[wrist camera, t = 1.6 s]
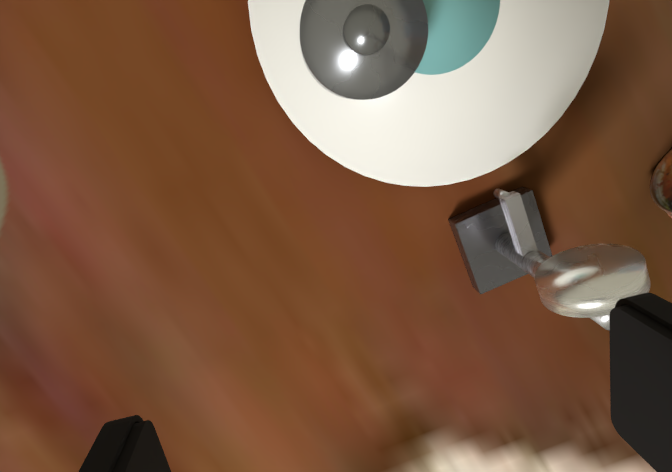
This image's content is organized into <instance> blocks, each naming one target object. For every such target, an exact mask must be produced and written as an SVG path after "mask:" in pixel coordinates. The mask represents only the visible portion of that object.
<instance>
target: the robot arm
mask: <svg viewBox="0 0 672 472" xmlns="http://www.w3.org/2000/svg"><path fill="white" fill-rule="evenodd" d="M610 392H611V420H612V423H613V425H614V427H615V429H616V431H617V432H618V434H619V435H620V436H621V437H622V438H623V439H624V440H625V441H626V442H627V443H628V444H629V445H630V446H631V447H632V448H633V449H634V450H635V451H636V452H637V453H638V454H639V455H640V456H641V457H642V458H643V459H644V460H645V461H647V462H648V463H649V464H650V465H651V466H652V467H653V468H654V469H655V470H656V471H657V472H672V303H670V302H668V301H666V300H664V299H662V298H660V297H658V296H656V295H655V294H652V293H643V294H639V295H635V296H631V297H626V298H622V299H620V300H618V301H617V303H616V305H615V308H613V309H612V310H611V312H610ZM79 472H171V470H170V468H169V465H168V462H167V460H166V457H165V454H164V452H163V449H162V446H161V444H160V441H159V438H158V436H157V433H156V431H155V428H154V426H153V424H152V422H151V421H149V420H147V421H143V420H142V418H141V417H140V416H138V415H135V416H131V417H126V418H122V419H118V420H114V421H110V422H107V423H105V424H104V426H103V427H102V429H101V431H100V432H99V434H98V436H97V438H96V440H95V442H94V444H93V446H92V448H91V449H90V451H89V453H88V455H87V457H86V459H85V461H84V463H83V464H82V466H81V468H80V470H79Z"/></svg>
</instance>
